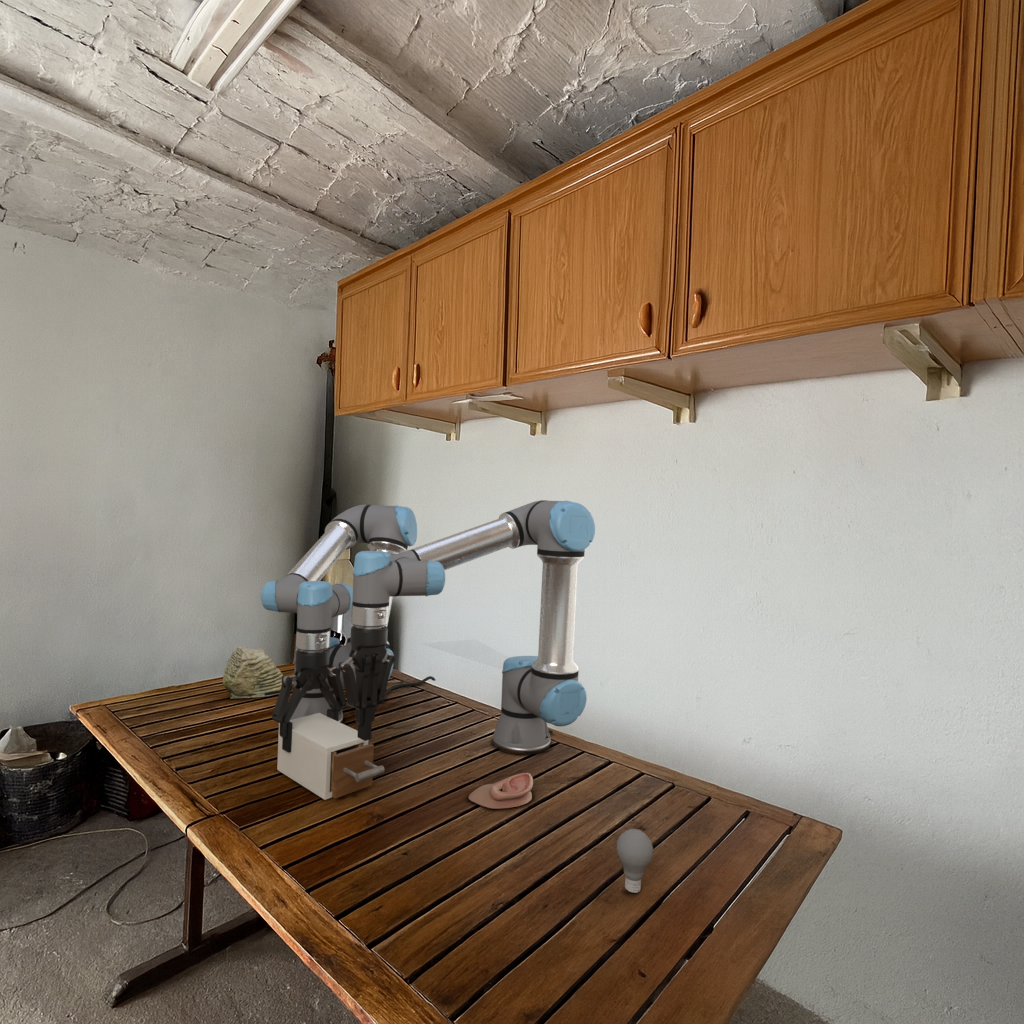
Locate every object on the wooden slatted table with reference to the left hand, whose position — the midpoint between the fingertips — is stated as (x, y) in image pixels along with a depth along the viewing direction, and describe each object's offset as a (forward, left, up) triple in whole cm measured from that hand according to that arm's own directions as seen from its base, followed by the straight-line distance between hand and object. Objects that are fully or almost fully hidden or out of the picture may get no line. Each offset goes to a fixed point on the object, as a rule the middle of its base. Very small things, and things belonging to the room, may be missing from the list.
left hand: (309, 743), depth 146 cm
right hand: (+1, +21, +7) cm, 23 cm away
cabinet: (0, +5, -6) cm, 8 cm away
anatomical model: (-20, +41, -6) cm, 46 cm away
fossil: (-19, -58, -6) cm, 62 cm away
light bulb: (-10, +78, -6) cm, 79 cm away
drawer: (+1, +12, -5) cm, 13 cm away
